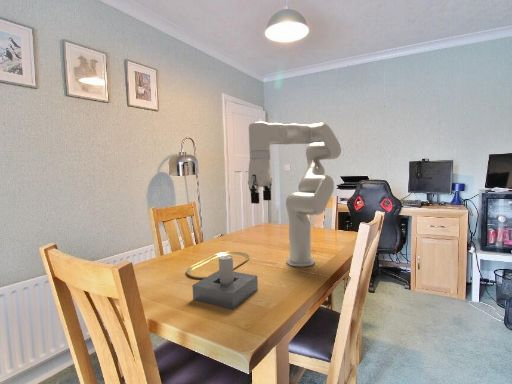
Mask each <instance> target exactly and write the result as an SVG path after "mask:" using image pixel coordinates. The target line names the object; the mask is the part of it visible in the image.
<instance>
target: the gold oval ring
mask: <svg viewBox="0 0 512 384" xmlns="http://www.w3.org/2000/svg"><path fill="white" fill-rule="evenodd" d="M224 255H230V256H233V255H234V256H241V257H244V258H245V260H243V261H242V262H240V263H238V264H237V265H236V266H233V270H235V269H237V268H239V267H240V266H241V265H242V264H243V265H244V264H245V263H246V262H247V261H249V259H250V255H249V254H248V253H246V252H242V251H226V252H219V253H216V254H214V255H211V256H209V257H207V258H205V259H203V260H201V261H199V262H197V263H195V264H192V265H191V266H189V267H188V268H187V269H186V273H187V275H188V276H189V277H191V278H193V279H197V280H198V279H199V280H200V279H201V280H203V279H204V278H206V277H207V276H198V275H197V276H196V275H193V274H192V273H191V272H192V271H193V270H195V269H197V268H200V267H201V266H203V265H206V264H207V263H210V262H211V261H213V260H216V259H217V258H219V257H220V256H224ZM212 259H213V260H212ZM210 260H211V261H210Z"/></svg>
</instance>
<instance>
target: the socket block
mask: <svg viewBox="0 0 512 384" xmlns="http://www.w3.org/2000/svg"><path fill="white" fill-rule="evenodd" d="M233 274H234V282H233V283H231V284H230V285H224V284H220V274H219V270H217V271H215V272H213V273H211V274H210V275H208V276H205V277H206V278H204V279H201V280H199V281H197V282H196V283H194V284H192V300H193V301H198V302H202V303H206V304H209V305H213V306H217V307H218V306H219V307H223V308H226V309H230V310H234V309H235V308H236V307H238V306H239V305H241V304H242V303H243V302H245V300H247V299H248V298H249V297H250V296H251V295H253V294H254V293H255V292H256V291H258V290H259V285H258V284H259V283H258V280H259V279H258V275H256V274H250V273H245V272H238V271H233Z"/></svg>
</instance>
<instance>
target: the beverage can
mask: <svg viewBox="0 0 512 384" xmlns="http://www.w3.org/2000/svg"><path fill="white" fill-rule="evenodd" d="M233 268H234V259H233V255H224V256H220V257H218V269H219V270H218V271H219V274H220V284H224V285H230V284H231V283H233V282H234V274H233V272H234V269H233Z"/></svg>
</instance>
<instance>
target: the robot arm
mask: <svg viewBox="0 0 512 384" xmlns="http://www.w3.org/2000/svg"><path fill="white" fill-rule="evenodd" d="M248 145H249V147H248V148H249V163H248V180H247V184H248V188H249V189H248V190H249V192H250V204H252V205H253V204H257V205H259V204H260V192H259V190H260V188H263V190H262V199H263V201H271V200H272V185H273V184H272V181H273V178H272V175H271V165H270V160H271V156H270V155H271V152H270V150H271V148H270V145H307V146H306V149H305V157H306V163H307V168H306V170H305V172H304V174H303V175H302V177H301V178H300V181H299V183H298V187H297V189H298V192H297V191H296V192H291V193H290V194H288V195H287V197H286V199H285V206H286V211H287V215H288V216H287V218H288V234H289V235H288V241H289V244H288V245H289V257H287V258H286V260H285V261H286V264H288V265H290V266H292V267H300V268H303V267H311V266H312V265H314V264H315V261H316V259H314V258H313V257H312V246H311V245H312V243H311V242H312V239H311V237H312V236H311V235H312V234H311V222H310V219H309V216H321V215H322V214H323V213H324V211H325V209H326V207H327V206H328V203H329V201H330V199H331V198H332V195H333V192H334V188H335V184H334V183H335V182H334V179H333V178H332V176H330V175H328V174H325V173H326V170H325V168H324V166H323V164H322V163H321V161H323V160H326V161H327V160H336V159H338V158H339V157H340V156H341V154H342V147H341V144H340V142H339V140H338V138H337V136H336V134H335V133H334V132H333V129H331V127H330V126H329V125H328V124H327V123H325V122H319V123H312V124H301V123H300V124H299V123H290V124H288V123H287V124H283V123H280V122H274V123H272V122H270V123H269V122H265V121H255V122H252V123H249V125H248Z"/></svg>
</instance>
